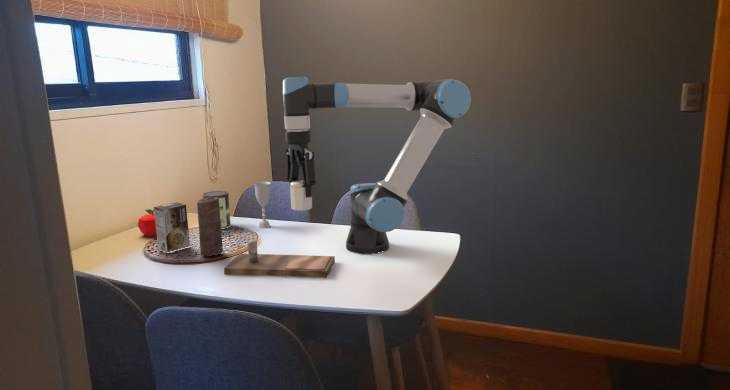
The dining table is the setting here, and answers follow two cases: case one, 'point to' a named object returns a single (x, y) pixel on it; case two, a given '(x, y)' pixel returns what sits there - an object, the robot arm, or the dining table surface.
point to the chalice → (263, 200)
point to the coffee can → (221, 206)
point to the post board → (279, 264)
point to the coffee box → (172, 226)
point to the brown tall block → (209, 226)
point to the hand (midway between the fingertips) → (301, 205)
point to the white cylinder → (297, 196)
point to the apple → (148, 224)
